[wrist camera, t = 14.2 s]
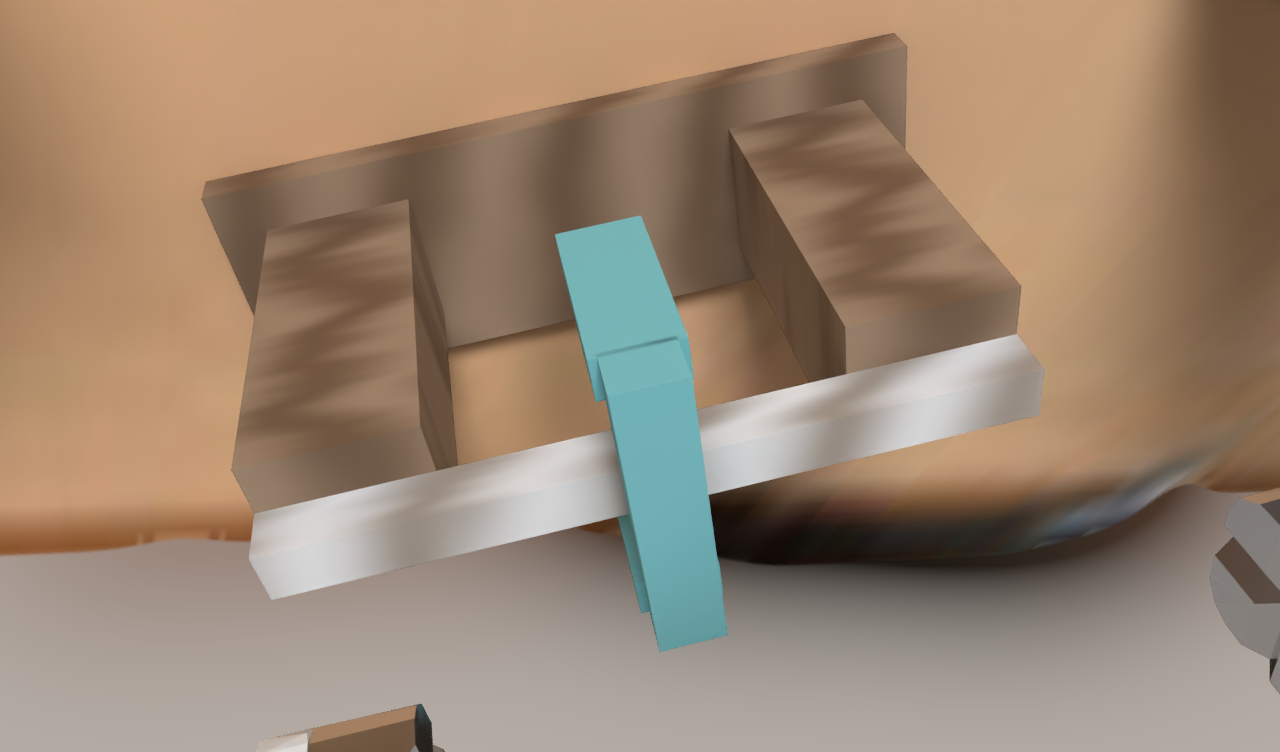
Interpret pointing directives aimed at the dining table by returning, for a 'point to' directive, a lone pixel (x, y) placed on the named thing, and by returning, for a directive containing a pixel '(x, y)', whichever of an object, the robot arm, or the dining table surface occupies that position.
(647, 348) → the teal stepped bracket
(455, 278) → the shelf
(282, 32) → the dining table surface
